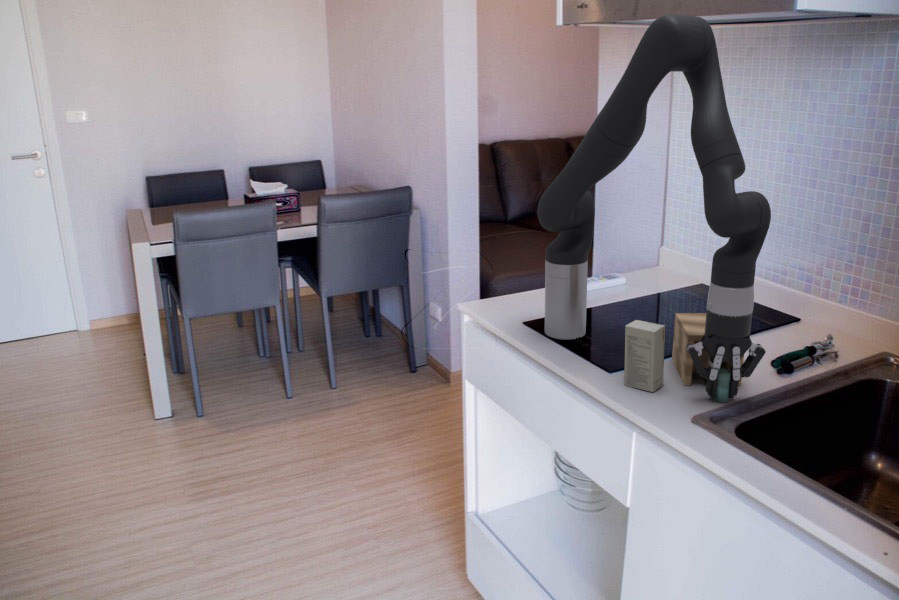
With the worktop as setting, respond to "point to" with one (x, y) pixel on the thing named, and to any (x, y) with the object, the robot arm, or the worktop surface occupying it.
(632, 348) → the skincare box
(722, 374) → the mallet
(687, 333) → the oak cubby
